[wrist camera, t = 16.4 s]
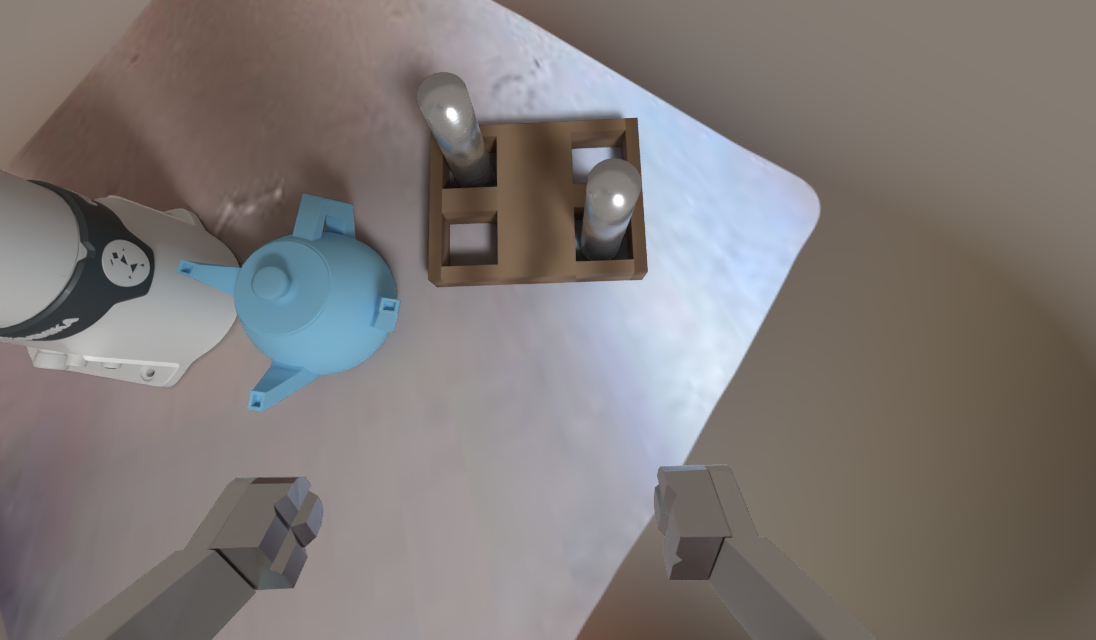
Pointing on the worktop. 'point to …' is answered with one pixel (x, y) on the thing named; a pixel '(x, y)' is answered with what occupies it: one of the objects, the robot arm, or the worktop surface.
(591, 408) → the worktop surface
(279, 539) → the robot arm
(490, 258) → the worktop surface
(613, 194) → the pin
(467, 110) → the pin
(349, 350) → the teapot
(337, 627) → the worktop surface
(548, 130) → the socket board
